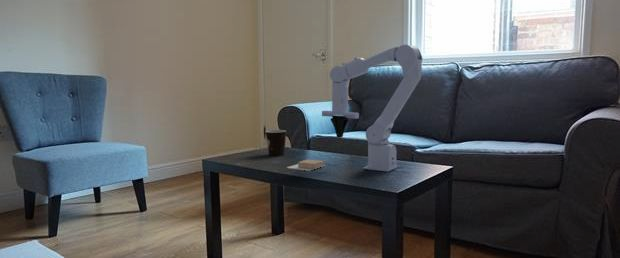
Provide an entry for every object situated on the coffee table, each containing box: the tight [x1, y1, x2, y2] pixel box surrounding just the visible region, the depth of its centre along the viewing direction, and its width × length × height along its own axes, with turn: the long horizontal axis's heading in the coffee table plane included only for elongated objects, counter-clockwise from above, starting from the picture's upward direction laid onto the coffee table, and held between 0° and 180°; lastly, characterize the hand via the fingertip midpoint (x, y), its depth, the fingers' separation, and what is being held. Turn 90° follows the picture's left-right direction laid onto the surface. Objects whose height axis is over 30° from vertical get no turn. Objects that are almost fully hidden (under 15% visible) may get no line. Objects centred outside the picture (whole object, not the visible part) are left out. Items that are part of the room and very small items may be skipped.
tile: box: [297, 158, 325, 170], centre depth 163 cm, size 2×6×7 cm
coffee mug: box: [265, 129, 287, 157], centre depth 188 cm, size 12×9×10 cm
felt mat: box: [286, 163, 326, 172], centre depth 164 cm, size 10×10×1 cm
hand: (339, 137), depth 165 cm, fingers closed
